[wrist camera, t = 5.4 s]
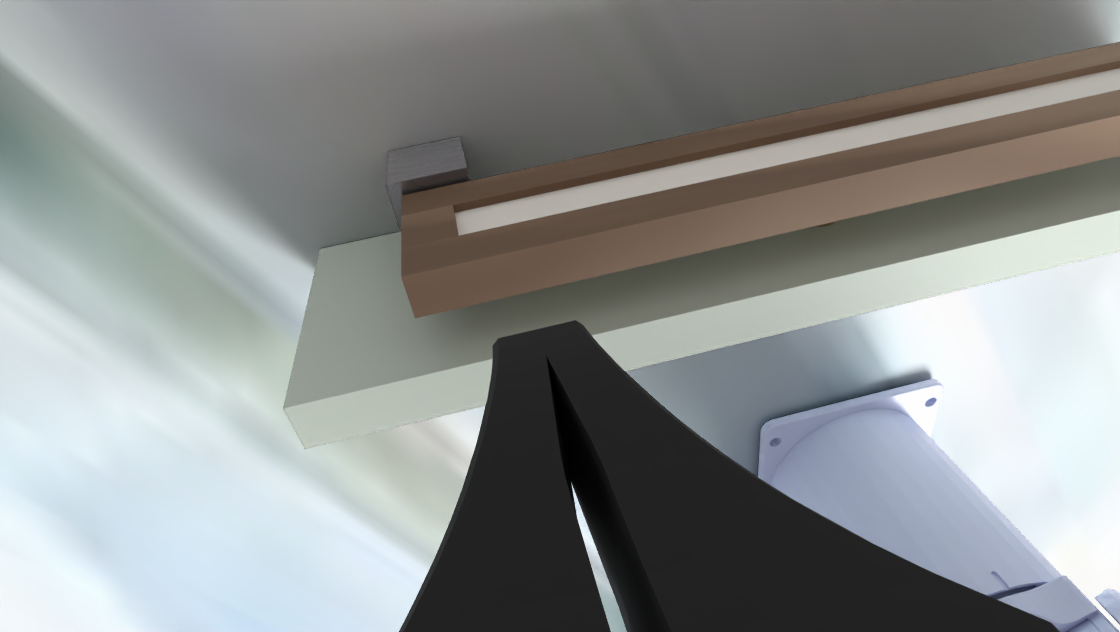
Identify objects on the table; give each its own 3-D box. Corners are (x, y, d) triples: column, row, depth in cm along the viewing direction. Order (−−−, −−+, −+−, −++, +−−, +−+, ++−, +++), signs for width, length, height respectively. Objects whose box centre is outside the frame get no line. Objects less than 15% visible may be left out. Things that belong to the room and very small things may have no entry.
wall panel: (1108, 111, 22) (1361, 192, 16) (333, 283, 19) (304, 449, 14) (1150, -6, 19) (1458, 38, 14) (288, 172, 17) (231, 312, 12)
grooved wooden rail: (1119, 77, 18) (1278, 118, 15) (412, 231, 16) (414, 318, 13) (1132, 38, 17) (1300, 74, 14) (401, 195, 16) (401, 277, 12)
